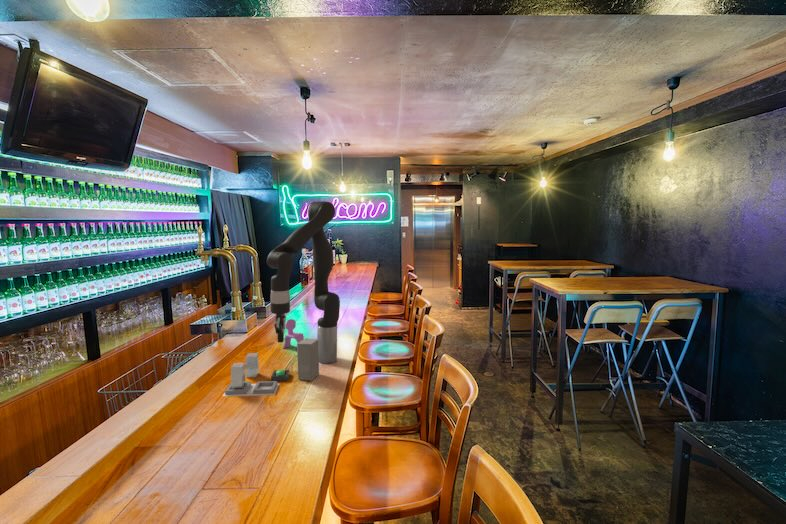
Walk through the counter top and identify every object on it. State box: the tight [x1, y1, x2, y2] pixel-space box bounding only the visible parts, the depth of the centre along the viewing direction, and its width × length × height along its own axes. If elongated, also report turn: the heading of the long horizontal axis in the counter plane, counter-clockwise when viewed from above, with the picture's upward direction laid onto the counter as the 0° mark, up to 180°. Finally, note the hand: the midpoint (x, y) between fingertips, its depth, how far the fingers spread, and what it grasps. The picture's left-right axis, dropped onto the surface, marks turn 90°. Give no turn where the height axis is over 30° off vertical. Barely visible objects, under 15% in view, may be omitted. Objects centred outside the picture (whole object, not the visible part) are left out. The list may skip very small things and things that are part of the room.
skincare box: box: [296, 337, 320, 382], centre depth 156 cm, size 8×7×16 cm
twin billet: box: [230, 362, 246, 389], centre depth 140 cm, size 4×4×10 cm
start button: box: [276, 368, 286, 376], centre depth 152 cm, size 4×4×3 cm
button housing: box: [270, 369, 291, 382], centre depth 152 cm, size 6×6×3 cm
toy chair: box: [282, 318, 305, 352], centre depth 189 cm, size 8×9×15 cm
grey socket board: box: [221, 380, 280, 397], centre depth 141 cm, size 19×10×2 cm, turn 97°
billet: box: [245, 352, 260, 379], centre depth 153 cm, size 4×4×10 cm
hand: (280, 341), depth 150 cm, fingers closed
